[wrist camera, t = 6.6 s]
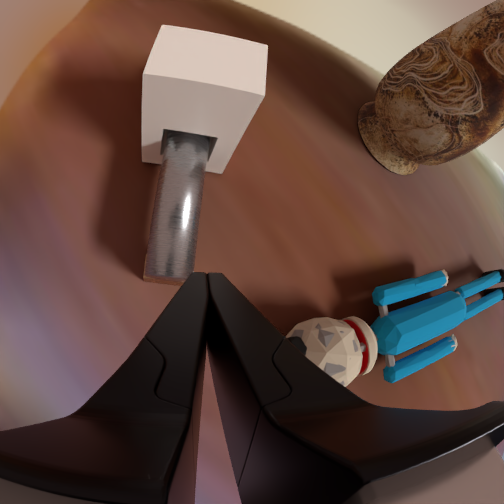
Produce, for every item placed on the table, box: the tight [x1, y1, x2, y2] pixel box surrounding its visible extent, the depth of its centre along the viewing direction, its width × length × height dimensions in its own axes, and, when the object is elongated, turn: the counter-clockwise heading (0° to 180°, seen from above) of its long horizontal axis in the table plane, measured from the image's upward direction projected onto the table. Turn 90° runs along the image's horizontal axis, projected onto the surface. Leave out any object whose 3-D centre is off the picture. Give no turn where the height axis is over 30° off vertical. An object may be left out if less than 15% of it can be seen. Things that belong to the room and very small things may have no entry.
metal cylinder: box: [143, 130, 210, 286], centre depth 21 cm, size 16×3×5 cm, turn 175°
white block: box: [142, 25, 268, 174], centre depth 19 cm, size 4×6×10 cm, turn 85°
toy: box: [285, 269, 504, 387], centre depth 25 cm, size 8×6×30 cm
